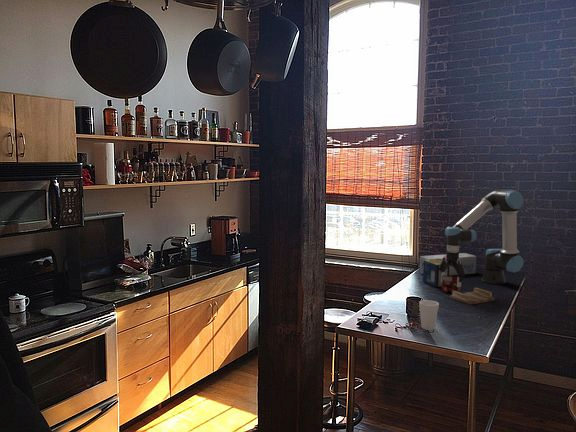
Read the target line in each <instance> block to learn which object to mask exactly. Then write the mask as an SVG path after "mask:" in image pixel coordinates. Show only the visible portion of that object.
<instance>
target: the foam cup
mask: <svg viewBox="0 0 576 432" xmlns="http://www.w3.org/2000/svg"><path fill="white" fill-rule="evenodd" d="M418 303H419V305H418V307H419V315H420V316H419V317H420V324H421V329H422V330H426V331H434V330H435V328H436V322H437V316H438V310H439V308H440V307H439V306H440V303H439V302H438V301H435V300H432V299H431V300H429V299H425V300H424V299H423V300H420V301H419V302H418Z"/></svg>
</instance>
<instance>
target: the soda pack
mask: <svg viewBox="0 0 576 432" xmlns="http://www.w3.org/2000/svg"><path fill="white" fill-rule="evenodd" d="M443 257H446V253H445V254H434V255H420V256H419V274H420V273H421V274H420V275H422V274H423V266H424V260H432V259H437V260H440V261H443ZM458 261H462V266H463V269H464V273H465V275H473V274H476V271H477V256H476V255H474V254H469V253H467V252H462V253H461V252H459V258H458ZM446 263H447V261H446ZM449 276H458V274H457V272H456V270H455V268H454V267H452V266H450V268H449Z"/></svg>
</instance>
